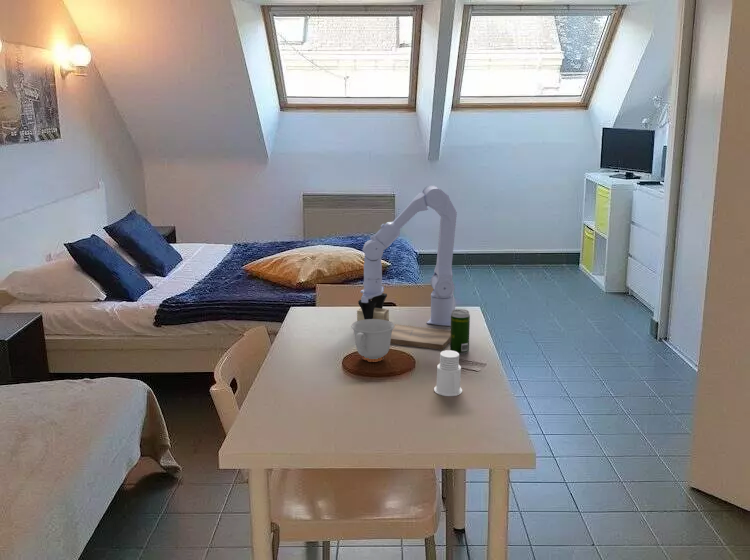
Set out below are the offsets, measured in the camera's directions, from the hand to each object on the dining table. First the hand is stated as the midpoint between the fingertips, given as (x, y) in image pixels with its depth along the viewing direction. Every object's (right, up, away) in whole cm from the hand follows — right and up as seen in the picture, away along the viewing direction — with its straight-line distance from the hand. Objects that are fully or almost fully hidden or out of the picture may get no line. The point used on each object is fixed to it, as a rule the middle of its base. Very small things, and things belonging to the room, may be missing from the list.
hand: (372, 318), depth 234 cm
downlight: (+19, -15, -54) cm, 59 cm away
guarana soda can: (+25, -8, -26) cm, 37 cm away
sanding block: (0, -2, +1) cm, 2 cm away
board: (+13, -5, -14) cm, 20 cm away
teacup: (-1, -10, -33) cm, 34 cm away
